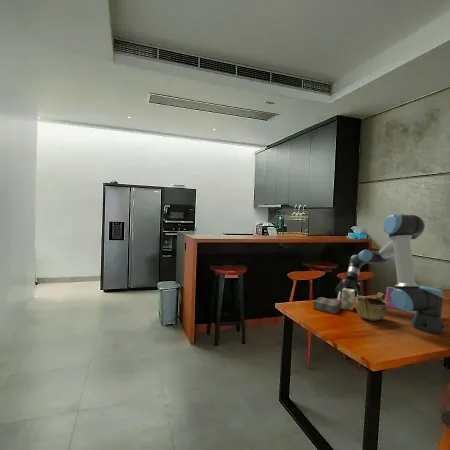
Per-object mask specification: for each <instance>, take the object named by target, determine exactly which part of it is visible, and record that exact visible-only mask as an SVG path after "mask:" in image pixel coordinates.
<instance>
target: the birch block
mask: <svg viewBox="0 0 450 450" xmlns="http://www.w3.org/2000/svg"><path fill="white" fill-rule="evenodd" d="M355 295H356V290H355V289H353V288H347V287H346V288H344V289H343V290H342V291H341V296H340V301H341V309H343V310H349V311H353V310H354V308H355V301H356V296H355Z"/></svg>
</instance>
